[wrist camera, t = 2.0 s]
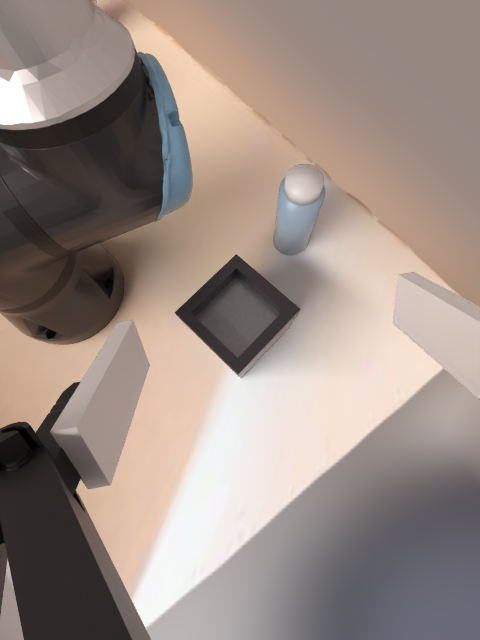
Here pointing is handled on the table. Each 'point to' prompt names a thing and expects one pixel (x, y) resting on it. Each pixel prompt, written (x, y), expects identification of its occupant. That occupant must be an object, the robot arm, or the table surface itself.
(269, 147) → the table surface
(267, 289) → the square planter pot
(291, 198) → the white-capped blue bottle
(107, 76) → the robot arm
